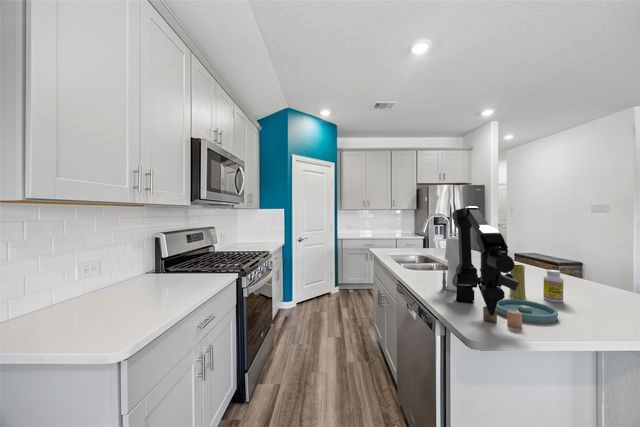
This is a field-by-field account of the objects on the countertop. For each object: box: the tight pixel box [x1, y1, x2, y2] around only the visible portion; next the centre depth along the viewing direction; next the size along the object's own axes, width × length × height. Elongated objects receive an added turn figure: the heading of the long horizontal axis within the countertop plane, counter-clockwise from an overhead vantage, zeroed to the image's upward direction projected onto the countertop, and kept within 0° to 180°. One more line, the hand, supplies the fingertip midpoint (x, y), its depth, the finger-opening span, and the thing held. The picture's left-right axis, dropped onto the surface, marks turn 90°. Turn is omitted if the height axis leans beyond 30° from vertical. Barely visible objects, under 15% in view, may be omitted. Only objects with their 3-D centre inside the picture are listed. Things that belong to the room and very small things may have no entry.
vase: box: [509, 263, 527, 300], centre depth 131 cm, size 6×6×14 cm
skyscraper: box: [441, 232, 460, 293], centre depth 144 cm, size 8×8×28 cm
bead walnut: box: [482, 305, 498, 324], centre depth 104 cm, size 4×4×4 cm
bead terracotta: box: [506, 311, 523, 329], centre depth 99 cm, size 4×4×4 cm
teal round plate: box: [496, 298, 559, 324], centre depth 110 cm, size 19×19×2 cm
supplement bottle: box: [543, 269, 564, 303], centre depth 125 cm, size 7×7×13 cm
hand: (489, 310), depth 104 cm, fingers open, 9 cm apart
